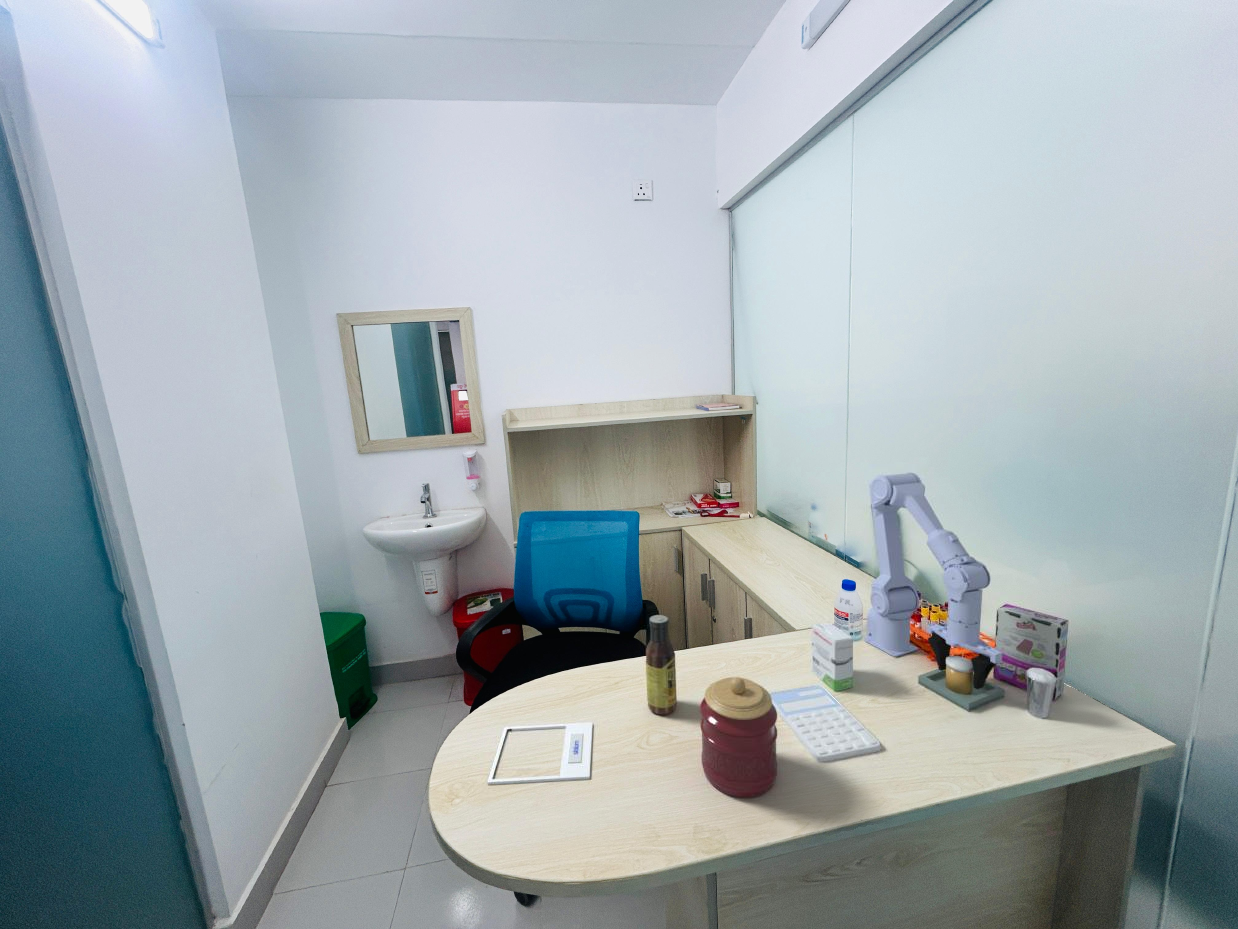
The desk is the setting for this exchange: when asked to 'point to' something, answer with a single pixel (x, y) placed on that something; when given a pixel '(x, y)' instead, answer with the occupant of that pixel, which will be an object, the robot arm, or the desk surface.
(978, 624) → the robot arm
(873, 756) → the desk surface
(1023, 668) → the candy bar box
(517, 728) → the photo frame
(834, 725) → the calculator
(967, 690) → the pill bottle
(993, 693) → the tray
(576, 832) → the desk surface
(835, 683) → the ink box
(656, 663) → the sauce bottle
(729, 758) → the canister
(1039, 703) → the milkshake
